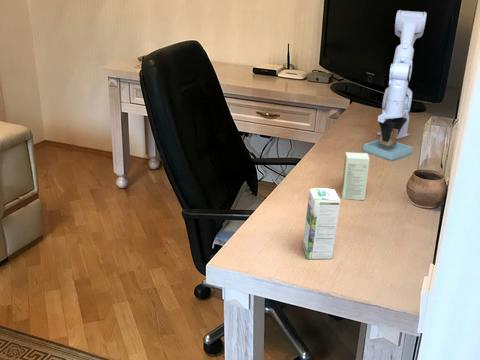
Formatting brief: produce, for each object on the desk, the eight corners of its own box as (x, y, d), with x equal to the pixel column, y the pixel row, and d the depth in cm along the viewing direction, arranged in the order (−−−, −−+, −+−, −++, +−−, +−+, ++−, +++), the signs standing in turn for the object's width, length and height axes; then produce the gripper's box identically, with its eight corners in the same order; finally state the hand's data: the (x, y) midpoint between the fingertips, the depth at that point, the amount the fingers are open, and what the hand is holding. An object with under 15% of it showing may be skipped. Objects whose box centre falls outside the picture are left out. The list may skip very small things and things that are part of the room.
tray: (383, 144, 186) (384, 137, 185) (411, 154, 178) (413, 147, 177) (362, 151, 178) (363, 144, 177) (391, 161, 171) (393, 154, 170)
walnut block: (386, 140, 180) (388, 126, 178) (396, 144, 177) (398, 129, 175) (379, 143, 177) (381, 128, 175) (389, 146, 174) (391, 131, 172)
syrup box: (301, 246, 119) (307, 187, 113) (327, 246, 120) (334, 187, 114) (306, 259, 114) (313, 199, 108) (333, 259, 114) (341, 199, 109)
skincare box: (363, 194, 146) (369, 153, 141) (364, 200, 142) (371, 158, 137) (339, 192, 147) (345, 151, 142) (340, 199, 143) (346, 156, 138)
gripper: (398, 94, 178) (391, 132, 183) (372, 100, 169) (366, 140, 174) (416, 98, 173) (409, 137, 178) (391, 105, 164) (384, 146, 170)
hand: (389, 139), depth 176 cm, fingers closed on walnut block, 4 cm apart
